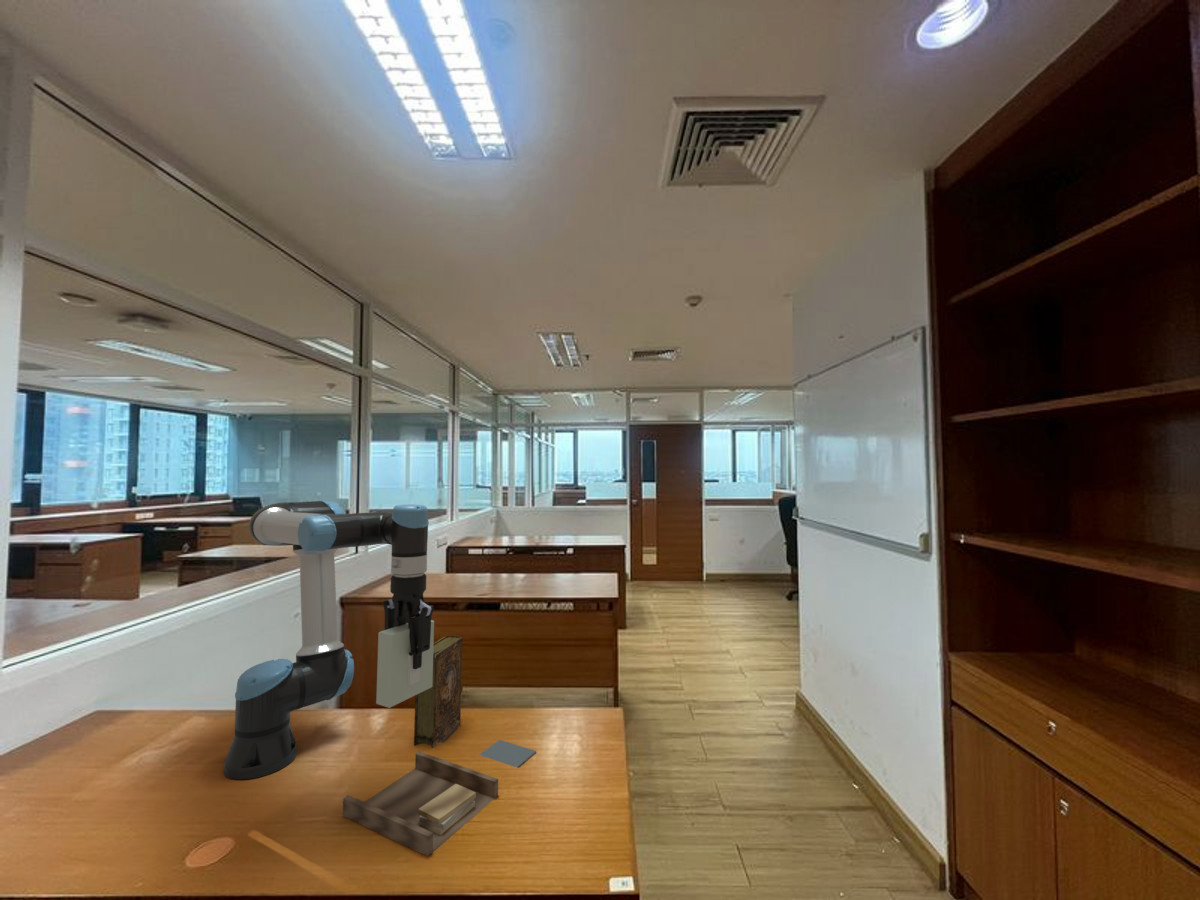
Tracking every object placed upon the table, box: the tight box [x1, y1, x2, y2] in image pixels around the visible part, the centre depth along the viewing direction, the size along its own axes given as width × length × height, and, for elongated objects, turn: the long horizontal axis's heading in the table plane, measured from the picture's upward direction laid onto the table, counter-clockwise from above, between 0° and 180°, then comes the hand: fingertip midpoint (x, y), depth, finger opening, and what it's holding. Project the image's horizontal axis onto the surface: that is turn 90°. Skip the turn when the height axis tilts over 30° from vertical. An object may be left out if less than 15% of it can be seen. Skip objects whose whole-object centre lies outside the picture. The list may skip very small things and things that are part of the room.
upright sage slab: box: [375, 619, 435, 709], centre depth 113 cm, size 4×12×15 cm, turn 153°
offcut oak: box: [418, 784, 476, 825], centre depth 106 cm, size 6×10×1 cm, turn 149°
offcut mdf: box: [419, 799, 474, 830], centre depth 106 cm, size 6×10×1 cm, turn 158°
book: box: [413, 635, 463, 749], centre depth 141 cm, size 16×6×25 cm, turn 168°
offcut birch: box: [418, 801, 475, 835], centre depth 106 cm, size 6×10×1 cm, turn 153°
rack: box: [342, 751, 499, 857], centre depth 109 cm, size 24×20×5 cm
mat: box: [479, 739, 537, 769], centre depth 128 cm, size 12×18×1 cm, turn 153°
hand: (405, 680), depth 113 cm, fingers closed on upright sage slab, 4 cm apart
